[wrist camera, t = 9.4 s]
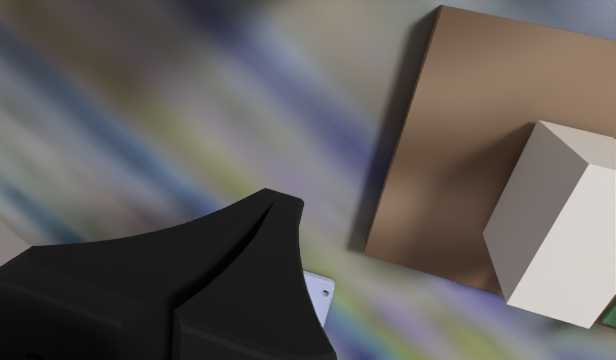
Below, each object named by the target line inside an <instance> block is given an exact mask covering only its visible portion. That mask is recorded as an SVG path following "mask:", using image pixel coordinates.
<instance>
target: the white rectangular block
mask: <svg viewBox="0 0 616 360" xmlns="http://www.w3.org/2000/svg"><path fill="white" fill-rule="evenodd" d="M483 236H484V239H485V242H486V245H487V248H488V251H489V254H490V257H491V260H492V263H493V266H494V269H495V272H496V275H497V277H498V280H499V283H500V286H501V289H502V292H503V295H504V298H505V301H506V304H508V305H511V306H515V307H518V308H521V309H525V310H528V311H531V312H535V313H538V314H541V315H545V316H548V317H551V318H555V319H558V320H561V321H565V322H568V323H571V324H575V325H578V326H581V327H585V328H588V329H589V328H590V327H591V326H592V324H593V323H594V322H595V320H596V319H597V318H598V316H599V315H600V314H601V313H602V311H603V310H604V309H605V307H606V306H607V305H608V303H609V302H610V301H611V299H612V298H613V297H614V295H615V294H616V139H614V138H613V137H609V136H604V135H600V134H596V133H592V132H588V131H583V130H579V129H575V128H571V127H566V126H562V125H558V124H554V123H550V122H545V121H541V120H538V121H537V123H536V125H535V127H534V130H533V132H532V134H531V136H530V138H529V140H528V142H527V144H526V146H525V148H524V150H523V152H522V154H521V156H520V158H519V160H518V162H517V164H516V166H515V168H514V170H513V172H512V174H511V176H510V178H509V180H508V183H507V185H506V187H505V189H504V191H503V193H502V195H501V197H500V199H499V201H498V203H497V205H496V207H495V209H494V211H493V213H492V215H491V217H490V219H489V221H488V223H487V225H486V227H485V229H484V231H483Z"/></svg>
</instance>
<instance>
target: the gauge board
mask: <svg viewBox="0 0 616 360" xmlns="http://www.w3.org/2000/svg"><path fill="white" fill-rule="evenodd" d="M538 120H541V121H545V122H550V123H554V124H558V125H562V126H566V127H571V128H575V129H579V130H583V131H588V132H592V133H596V134H600V135H604V136H609V137H613V138H614V139H616V41H614V40H609V39H604V38H599V37H594V36H589V35H585V34H580V33H575V32H570V31H565V30H560V29H556V28H551V27H546V26H541V25H536V24H531V23H526V22H522V21H517V20H512V19H507V18H502V17H497V16H493V15H488V14H483V13H478V12H473V11H468V10H464V9H459V8H454V7H449V6H444V5H440V7H439V10H438V13H437V17H436V20H435V23H434V26H433V29H432V32H431V35H430V39H429V42H428V45H427V48H426V51H425V54H424V58H423V61H422V64H421V67H420V70H419V73H418V77H417V80H416V83H415V86H414V89H413V92H412V95H411V99H410V102H409V105H408V108H407V111H406V114H405V118H404V121H403V124H402V127H401V130H400V133H399V137H398V140H397V143H396V146H395V149H394V152H393V155H392V159H391V162H390V165H389V168H388V171H387V174H386V178H385V181H384V184H383V187H382V190H381V193H380V197H379V200H378V203H377V206H376V209H375V212H374V216H373V219H372V222H371V225H370V228H369V231H368V234H367V238H366V242H365V248H364V254H365V255H368V256H372V257H375V258H378V259H382V260H385V261H388V262H392V263H395V264H399V265H402V266H405V267H409V268H412V269H415V270H419V271H422V272H425V273H429V274H432V275H435V276H439V277H442V278H446V279H449V280H452V281H456V282H459V283H462V284H466V285H469V286H472V287H476V288H479V289H483V290H486V291H489V292H493V293H496V294H499V295H503V292H502V289H501V286H500V283H499V280H498V277H497V275H496V272H495V269H494V266H493V263H492V260H491V257H490V254H489V251H488V248H487V245H486V242H485V239H484V236H483V231H484V229H485V227H486V225H487V223H488V221H489V219H490V217H491V215H492V213H493V211H494V209H495V207H496V205H497V203H498V201H499V199H500V197H501V195H502V193H503V191H504V189H505V187H506V185H507V183H508V180H509V178H510V176H511V174H512V172H513V170H514V168H515V166H516V164H517V162H518V160H519V158H520V156H521V154H522V152H523V150H524V148H525V146H526V144H527V142H528V140H529V138H530V136H531V134H532V132H533V130H534V127H535V125H536V123H537V121H538ZM503 296H504V295H503ZM594 323H597V324H600V325H604V326H607V327H610V328H614V329H616V294H615V295H614V297H613V298H612V299H611V301H610V302H609V303H608V305H607V306H606V307H605V309H604V310H603V311H602V313H601V314H600V315H599V316H598V318H597V319H596V320H595V322H594Z"/></svg>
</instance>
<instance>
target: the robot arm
mask: <svg viewBox="0 0 616 360" xmlns="http://www.w3.org/2000/svg"><path fill="white" fill-rule="evenodd" d="M303 207H304V202H303V200H302V199H300V198H297V197H294V196H290V195H287V194H284V193H280V192H277V191H274V190H270V189H267V188H264V189H262V190H260V191H258V192H256V193H254V194H252V195H250V196H248V197H246V198H244V199H242V200H240V201H238V202H236V203H234V204H232V205H230V206H227V207H225V208H223V209H221V210H218V211H216V212H213V213H211V214H208V215H206V216H204V217H201V218H199V219H196V220H193V221H190V222H187V223H184V224H181V225H177V226H174V227H171V228H167V229H163V230H159V231H155V232H150V233H145V234H141V235H136V236H131V237H126V238H119V239H113V240H106V241H98V242H89V243H78V244H62V245H47V246H32V247H30V248H29V249H27V250H25V251H24V252H22V253H21V254H20V255H18V256H16V257H15V258H13V259H11V260H10V261H8V262H7V263H5V264H4V265H2V266H1V267H0V360H337V356H336V352H335V351H334V349H333V347H332V345H331V343H330V342H329V340H328V338H327V336H326V334H325V332H324V330H323V326H324V323H325V319H326V316H327V312H328V309H329V306H330V302H331V299H332V295H333V292H334V288H335V283H334V281H333V280H332V279H329V278H326V277H323V276H320V275H317V274H314V273H310V272H307V271H304V270H303V268H302V263H301V257H300V248H299V224H300V220H301V215H302V211H303ZM323 290H326V291H328V292H324V291H323Z"/></svg>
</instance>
